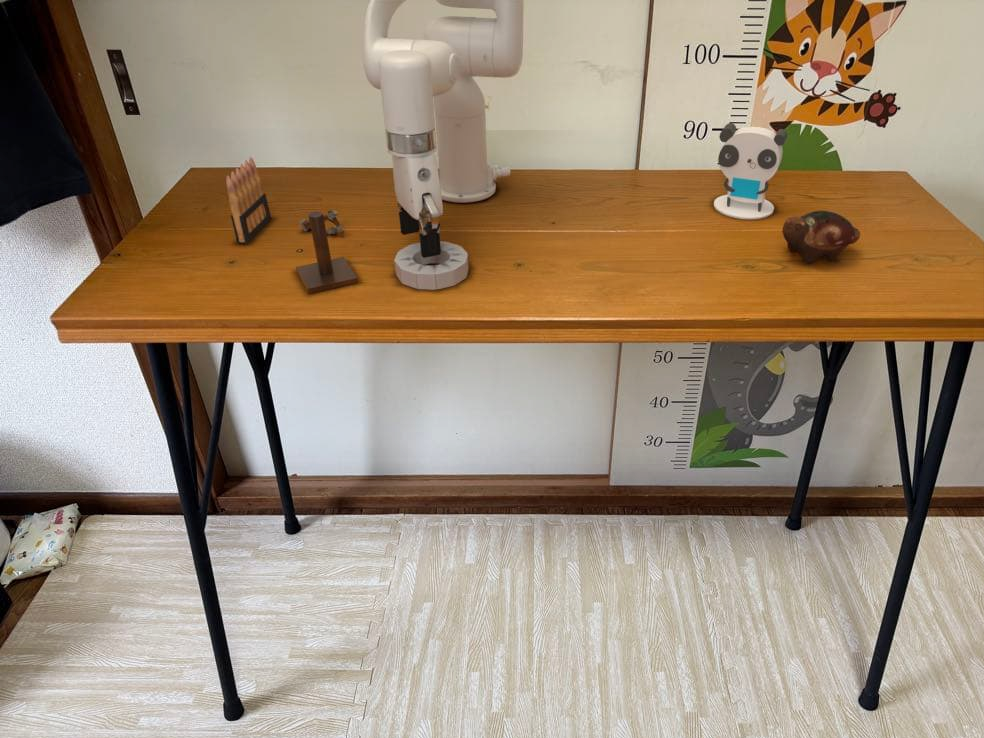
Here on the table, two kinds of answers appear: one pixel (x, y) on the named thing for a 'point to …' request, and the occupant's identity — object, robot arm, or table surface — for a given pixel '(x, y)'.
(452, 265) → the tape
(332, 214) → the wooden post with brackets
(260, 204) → the ammunition clip
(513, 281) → the table surface
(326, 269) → the stand
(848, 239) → the decorative turtle
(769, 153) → the panda figurine
